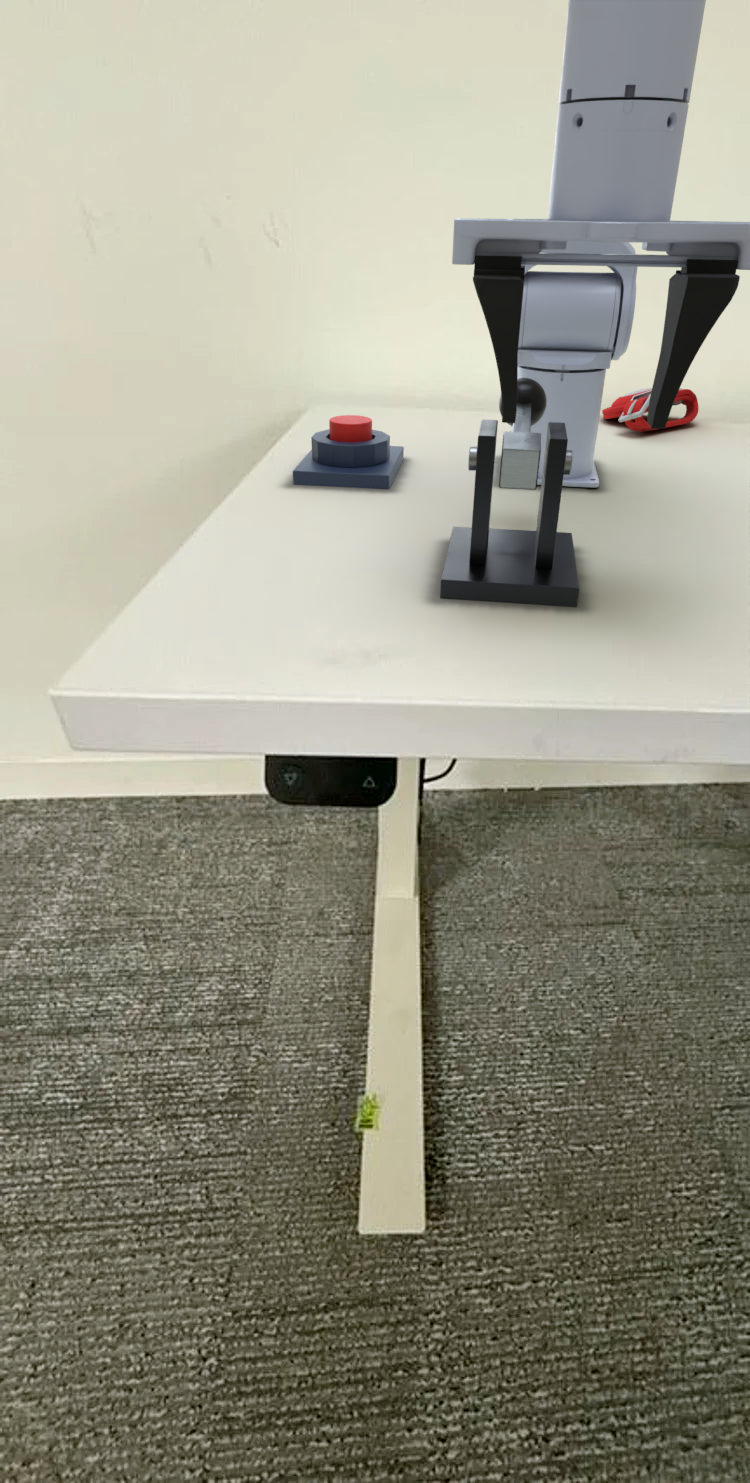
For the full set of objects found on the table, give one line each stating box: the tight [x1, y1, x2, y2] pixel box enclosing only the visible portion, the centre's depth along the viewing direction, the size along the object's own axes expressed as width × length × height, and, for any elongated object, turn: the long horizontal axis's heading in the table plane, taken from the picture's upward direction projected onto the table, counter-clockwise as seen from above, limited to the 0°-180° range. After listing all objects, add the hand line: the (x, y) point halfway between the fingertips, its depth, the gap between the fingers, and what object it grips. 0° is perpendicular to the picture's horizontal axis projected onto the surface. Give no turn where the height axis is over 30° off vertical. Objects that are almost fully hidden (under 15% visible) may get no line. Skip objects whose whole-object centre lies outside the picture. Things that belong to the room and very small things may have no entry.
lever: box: [498, 378, 547, 491], centre depth 55 cm, size 13×3×3 cm, turn 172°
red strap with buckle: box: [601, 387, 699, 433], centre depth 91 cm, size 12×4×10 cm
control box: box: [292, 428, 405, 490], centre depth 74 cm, size 10×8×3 cm
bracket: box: [439, 419, 580, 608], centre depth 53 cm, size 10×8×9 cm
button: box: [328, 414, 373, 442], centre depth 73 cm, size 4×4×2 cm
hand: (581, 422), depth 46 cm, fingers open, 7 cm apart
